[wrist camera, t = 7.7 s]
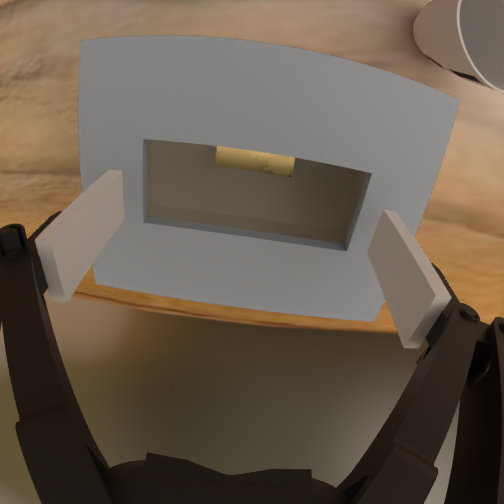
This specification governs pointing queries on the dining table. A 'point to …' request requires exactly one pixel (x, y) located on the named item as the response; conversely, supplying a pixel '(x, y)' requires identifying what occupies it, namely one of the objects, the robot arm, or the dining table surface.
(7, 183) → the dining table surface
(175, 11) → the dining table surface
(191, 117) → the box
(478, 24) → the cup
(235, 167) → the yellow wooden brick
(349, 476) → the robot arm
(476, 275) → the dining table surface
